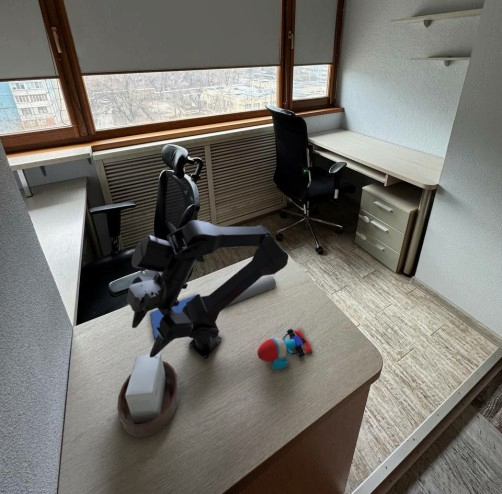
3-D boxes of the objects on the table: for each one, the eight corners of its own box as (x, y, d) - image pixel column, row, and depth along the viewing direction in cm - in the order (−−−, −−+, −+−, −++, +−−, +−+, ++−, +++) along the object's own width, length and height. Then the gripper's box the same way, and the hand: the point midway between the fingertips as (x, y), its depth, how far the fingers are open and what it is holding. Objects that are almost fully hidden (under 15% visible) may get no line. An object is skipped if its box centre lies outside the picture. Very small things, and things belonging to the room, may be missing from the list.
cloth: (194, 295, 89) (194, 295, 89) (203, 318, 81) (203, 317, 81) (150, 313, 83) (150, 312, 83) (155, 339, 75) (154, 338, 75)
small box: (143, 382, 65) (136, 354, 61) (167, 379, 66) (161, 352, 62) (133, 424, 58) (123, 396, 54) (159, 421, 58) (152, 393, 54)
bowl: (190, 393, 64) (188, 381, 62) (144, 454, 54) (140, 443, 52) (156, 361, 70) (154, 349, 68) (110, 410, 61) (105, 399, 59)
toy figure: (297, 332, 78) (251, 346, 72) (301, 320, 77) (254, 334, 70) (312, 359, 72) (262, 377, 66) (317, 347, 70) (266, 365, 64)
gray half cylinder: (218, 297, 88) (218, 293, 87) (271, 277, 95) (271, 274, 95) (222, 308, 84) (222, 304, 84) (277, 286, 92) (277, 282, 91)
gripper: (127, 250, 61) (93, 316, 60) (166, 298, 49) (124, 384, 47) (166, 256, 70) (137, 314, 68) (208, 298, 57) (174, 371, 55)
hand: (142, 341), depth 59 cm, fingers open, 9 cm apart
